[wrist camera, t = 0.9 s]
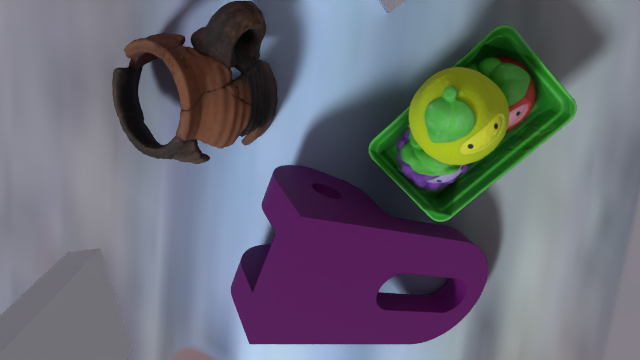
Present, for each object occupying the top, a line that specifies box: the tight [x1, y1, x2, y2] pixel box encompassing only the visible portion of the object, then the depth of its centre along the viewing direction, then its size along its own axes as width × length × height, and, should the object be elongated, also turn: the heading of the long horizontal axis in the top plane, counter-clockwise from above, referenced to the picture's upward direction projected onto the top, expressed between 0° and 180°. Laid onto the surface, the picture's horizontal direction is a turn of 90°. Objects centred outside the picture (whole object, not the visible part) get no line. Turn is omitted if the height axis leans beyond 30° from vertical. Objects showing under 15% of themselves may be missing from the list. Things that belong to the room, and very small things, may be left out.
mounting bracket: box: [231, 165, 488, 344], centre depth 37 cm, size 9×8×18 cm
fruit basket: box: [368, 25, 577, 222], centre depth 29 cm, size 11×9×11 cm
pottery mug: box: [112, 1, 277, 164], centre depth 32 cm, size 12×10×8 cm
